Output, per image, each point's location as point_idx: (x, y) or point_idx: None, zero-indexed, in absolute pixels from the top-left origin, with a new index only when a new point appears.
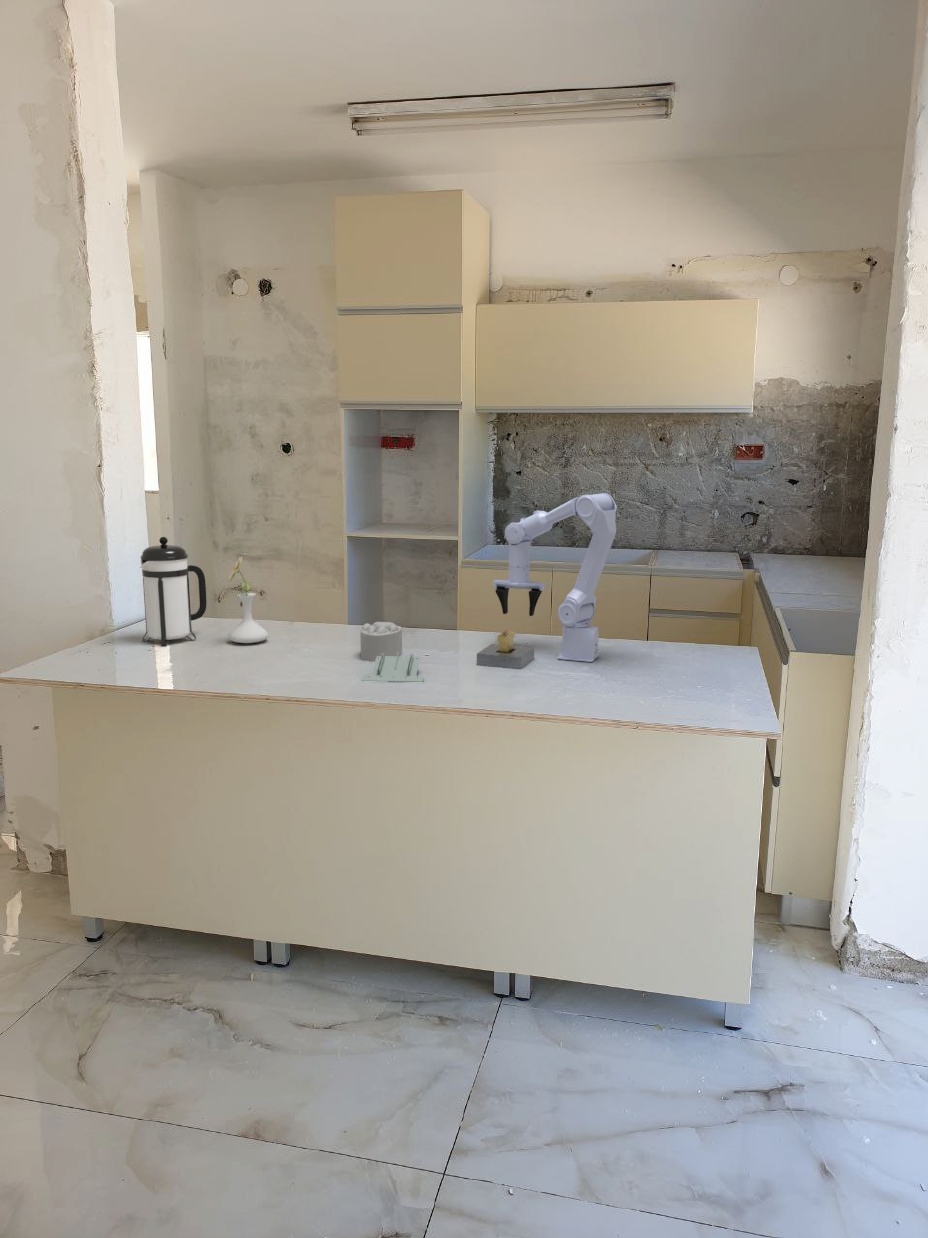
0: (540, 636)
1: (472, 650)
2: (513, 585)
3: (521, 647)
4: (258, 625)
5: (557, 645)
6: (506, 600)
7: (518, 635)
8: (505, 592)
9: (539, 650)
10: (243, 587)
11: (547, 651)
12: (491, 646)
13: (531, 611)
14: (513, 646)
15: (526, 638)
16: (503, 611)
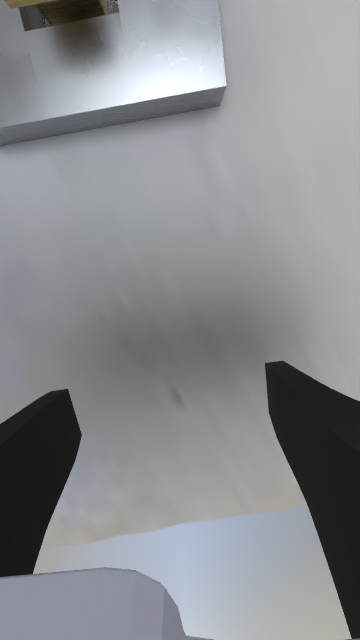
0: (183, 512)
1: (350, 147)
2: (59, 594)
3: (22, 92)
4: None
5: None
6: (309, 479)
7: (265, 493)
8: (355, 542)
9: (68, 312)
10: None
11: (30, 312)
12: (194, 4)
13: (30, 405)
14: (76, 91)
15: (216, 467)
16: (284, 365)
